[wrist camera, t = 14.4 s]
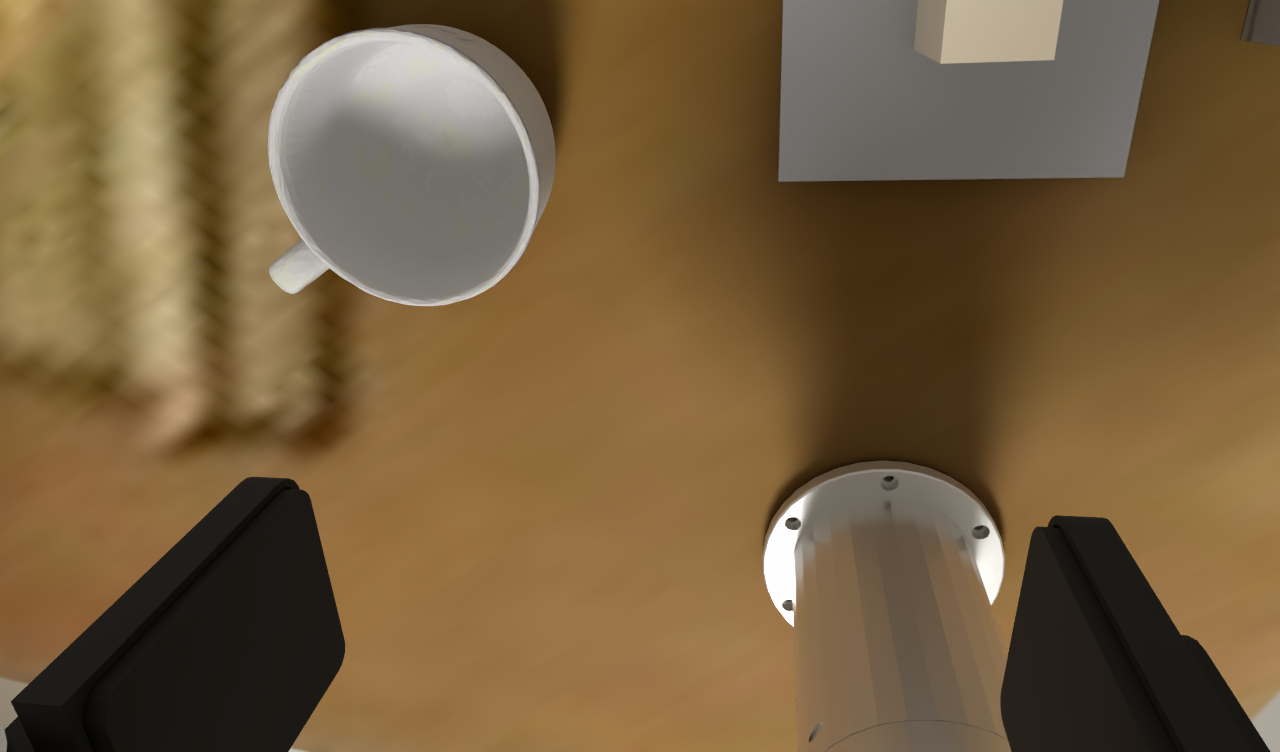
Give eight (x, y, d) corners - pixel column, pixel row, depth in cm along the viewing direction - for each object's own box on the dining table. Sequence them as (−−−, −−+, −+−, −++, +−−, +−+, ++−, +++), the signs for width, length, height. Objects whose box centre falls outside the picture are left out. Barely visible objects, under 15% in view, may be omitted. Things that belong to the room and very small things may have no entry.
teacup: (505, -28, 36) (439, -28, 29) (617, 200, 40) (584, 250, 33) (262, 114, 40) (152, 144, 33) (383, 308, 44) (308, 374, 37)
